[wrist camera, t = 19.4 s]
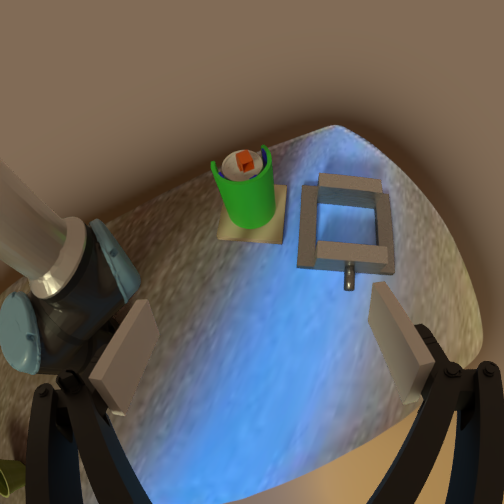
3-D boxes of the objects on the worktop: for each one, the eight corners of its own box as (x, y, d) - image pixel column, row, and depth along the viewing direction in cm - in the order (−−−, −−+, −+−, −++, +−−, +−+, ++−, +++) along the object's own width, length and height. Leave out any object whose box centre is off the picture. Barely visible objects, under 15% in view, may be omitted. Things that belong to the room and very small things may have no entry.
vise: (294, 290, 49) (296, 280, 44) (301, 189, 56) (303, 171, 51) (392, 296, 47) (404, 288, 41) (386, 197, 54) (395, 181, 48)
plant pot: (39, 475, 37) (10, 482, 26) (34, 497, 34) (8, 504, 23) (13, 444, 40) (-16, 447, 29) (9, 467, 37) (-17, 471, 26)
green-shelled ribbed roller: (261, 183, 56) (252, 117, 39) (285, 212, 53) (284, 148, 36) (222, 207, 55) (198, 145, 38) (243, 238, 52) (225, 181, 35)
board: (218, 239, 54) (216, 236, 53) (228, 186, 58) (227, 182, 57) (281, 244, 52) (281, 241, 51) (286, 189, 57) (286, 185, 55)
